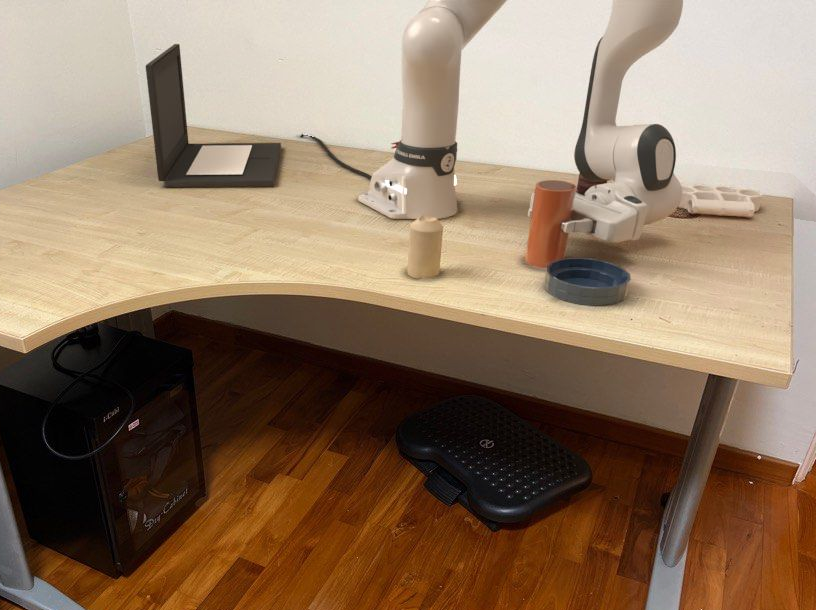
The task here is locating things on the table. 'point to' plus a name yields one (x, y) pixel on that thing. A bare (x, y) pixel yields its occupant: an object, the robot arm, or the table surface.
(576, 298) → the bowl
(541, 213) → the tumbler
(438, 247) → the candle
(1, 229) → the table surface
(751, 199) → the white brass knuckles
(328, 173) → the table surface
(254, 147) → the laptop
